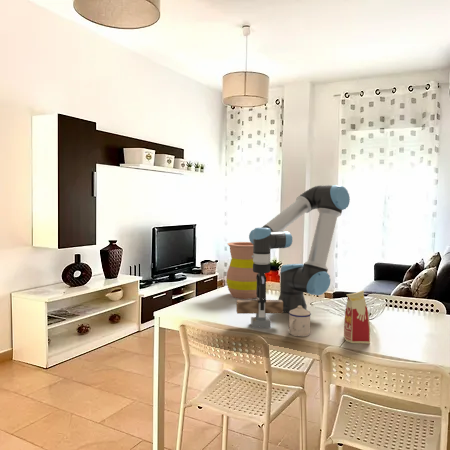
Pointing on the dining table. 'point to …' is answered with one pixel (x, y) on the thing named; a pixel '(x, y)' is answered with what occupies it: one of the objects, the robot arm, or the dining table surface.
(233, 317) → the dining table surface
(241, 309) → the walnut bar
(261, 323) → the block
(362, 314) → the milk carton
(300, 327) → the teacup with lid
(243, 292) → the vase
